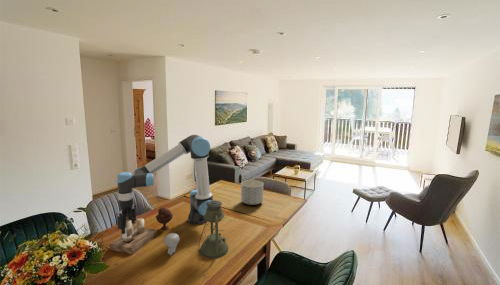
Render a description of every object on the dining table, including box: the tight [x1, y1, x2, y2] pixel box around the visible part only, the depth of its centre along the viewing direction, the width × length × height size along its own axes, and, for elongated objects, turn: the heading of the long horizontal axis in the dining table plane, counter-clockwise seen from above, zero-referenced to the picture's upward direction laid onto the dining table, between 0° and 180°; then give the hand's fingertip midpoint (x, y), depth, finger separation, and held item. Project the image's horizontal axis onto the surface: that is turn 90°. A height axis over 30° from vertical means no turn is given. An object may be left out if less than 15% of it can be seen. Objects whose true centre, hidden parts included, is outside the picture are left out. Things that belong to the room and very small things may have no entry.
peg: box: [125, 218, 132, 242], centre depth 151 cm, size 5×5×12 cm
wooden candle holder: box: [109, 217, 158, 255], centre depth 157 cm, size 16×22×12 cm
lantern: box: [198, 199, 229, 259], centre depth 149 cm, size 21×18×30 cm
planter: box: [240, 179, 264, 206], centre depth 219 cm, size 19×19×18 cm
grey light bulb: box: [163, 232, 180, 256], centre depth 145 cm, size 8×8×12 cm
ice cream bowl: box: [155, 207, 174, 232], centre depth 173 cm, size 11×11×15 cm
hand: (128, 235), depth 152 cm, fingers closed on peg, 5 cm apart
